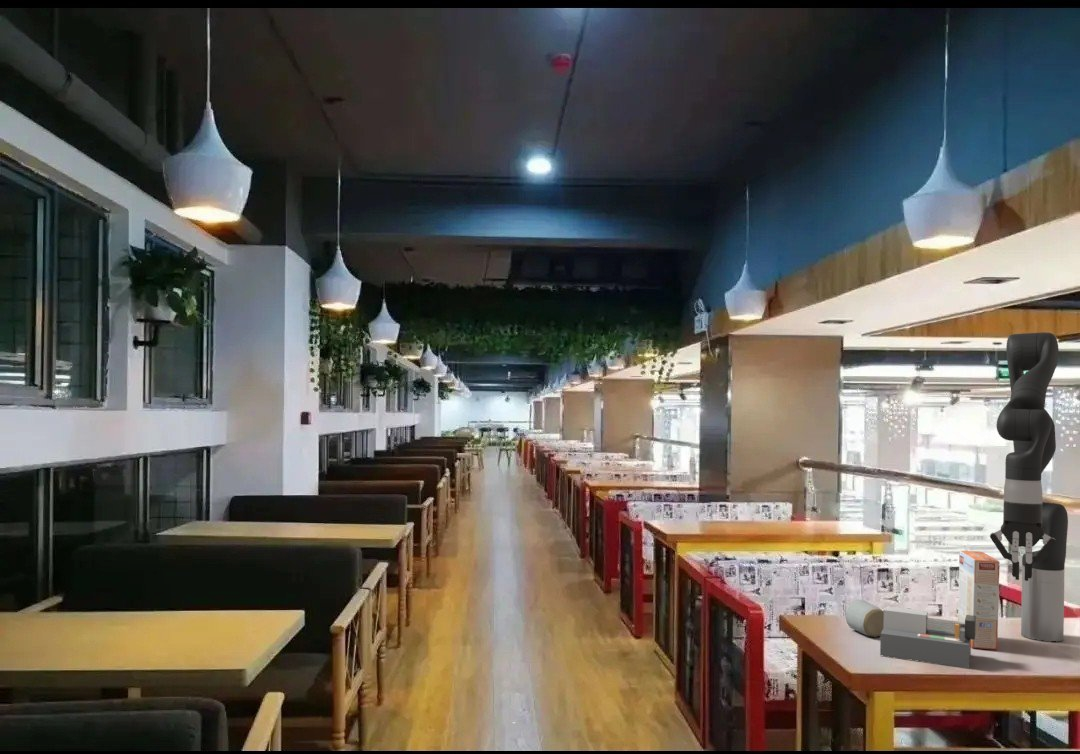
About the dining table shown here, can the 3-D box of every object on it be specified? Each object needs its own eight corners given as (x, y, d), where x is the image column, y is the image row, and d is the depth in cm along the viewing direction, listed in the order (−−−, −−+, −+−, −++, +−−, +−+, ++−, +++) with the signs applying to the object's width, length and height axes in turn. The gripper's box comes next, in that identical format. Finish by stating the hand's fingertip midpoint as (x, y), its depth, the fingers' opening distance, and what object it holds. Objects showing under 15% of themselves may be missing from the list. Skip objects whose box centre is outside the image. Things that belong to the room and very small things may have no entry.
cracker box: (999, 651, 213) (1000, 560, 214) (971, 649, 214) (972, 559, 215) (983, 635, 227) (984, 550, 227) (956, 633, 228) (958, 549, 229)
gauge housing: (886, 643, 217) (887, 604, 218) (970, 654, 209) (971, 614, 209) (880, 655, 207) (880, 614, 207) (968, 668, 199) (969, 625, 199)
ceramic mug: (864, 639, 221) (865, 607, 221) (844, 630, 229) (845, 599, 229) (901, 637, 224) (903, 606, 224) (880, 629, 232) (882, 598, 232)
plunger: (923, 626, 213) (923, 609, 213) (975, 633, 208) (975, 615, 208) (919, 635, 205) (919, 617, 205) (974, 642, 200) (974, 624, 200)
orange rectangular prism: (955, 637, 203) (955, 623, 203) (959, 637, 203) (959, 624, 203) (954, 638, 202) (954, 624, 202) (958, 638, 202) (958, 625, 202)
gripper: (1057, 501, 202) (1056, 580, 201) (988, 496, 208) (987, 573, 207) (1059, 504, 195) (1058, 586, 195) (988, 499, 201) (986, 579, 201)
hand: (1021, 579), depth 201 cm, fingers closed
